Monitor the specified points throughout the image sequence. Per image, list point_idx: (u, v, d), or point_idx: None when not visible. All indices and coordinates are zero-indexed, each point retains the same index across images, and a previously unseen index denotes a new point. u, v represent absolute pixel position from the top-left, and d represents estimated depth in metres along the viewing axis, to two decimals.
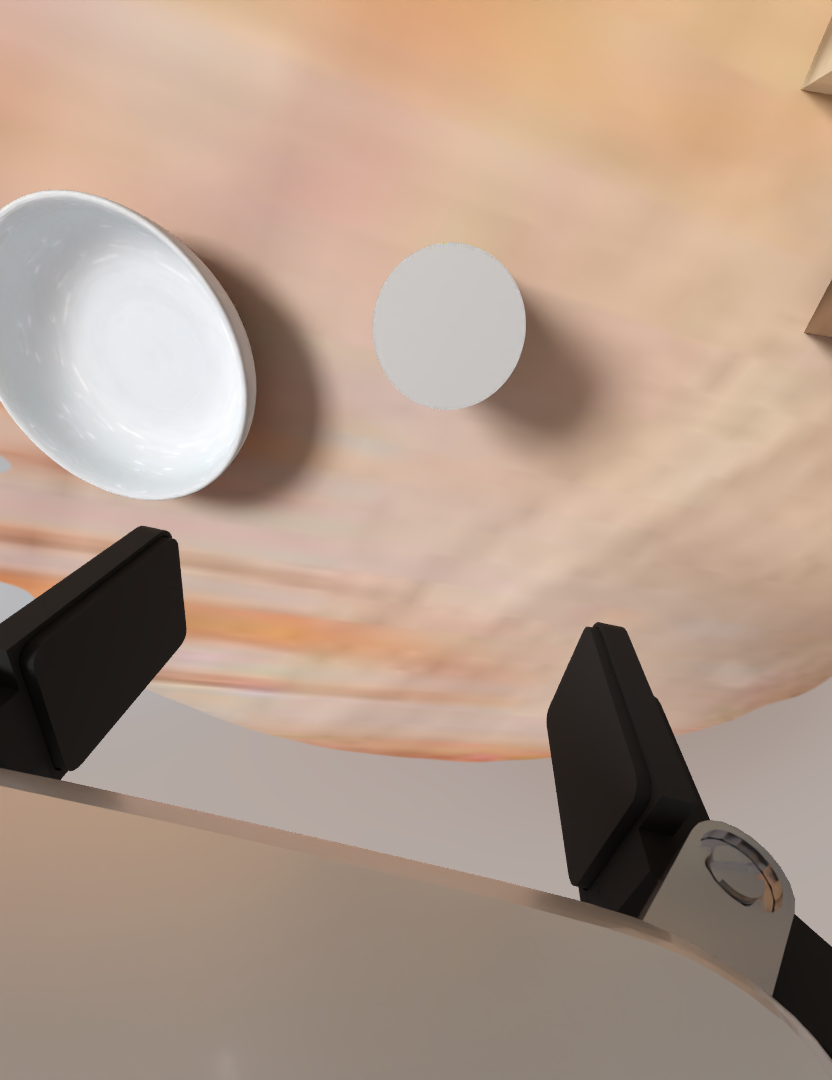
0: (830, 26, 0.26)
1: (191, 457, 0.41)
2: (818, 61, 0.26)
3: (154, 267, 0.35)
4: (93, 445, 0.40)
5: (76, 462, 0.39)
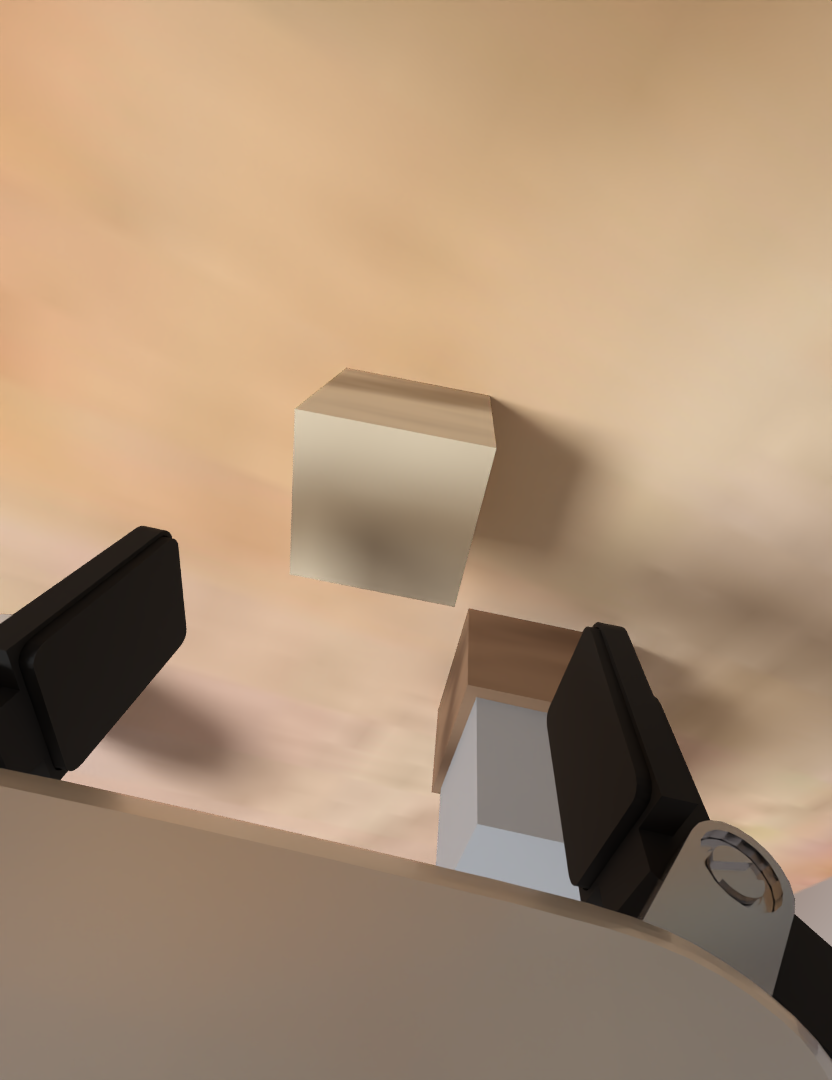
0: None
1: None
2: None
3: None
4: None
5: None
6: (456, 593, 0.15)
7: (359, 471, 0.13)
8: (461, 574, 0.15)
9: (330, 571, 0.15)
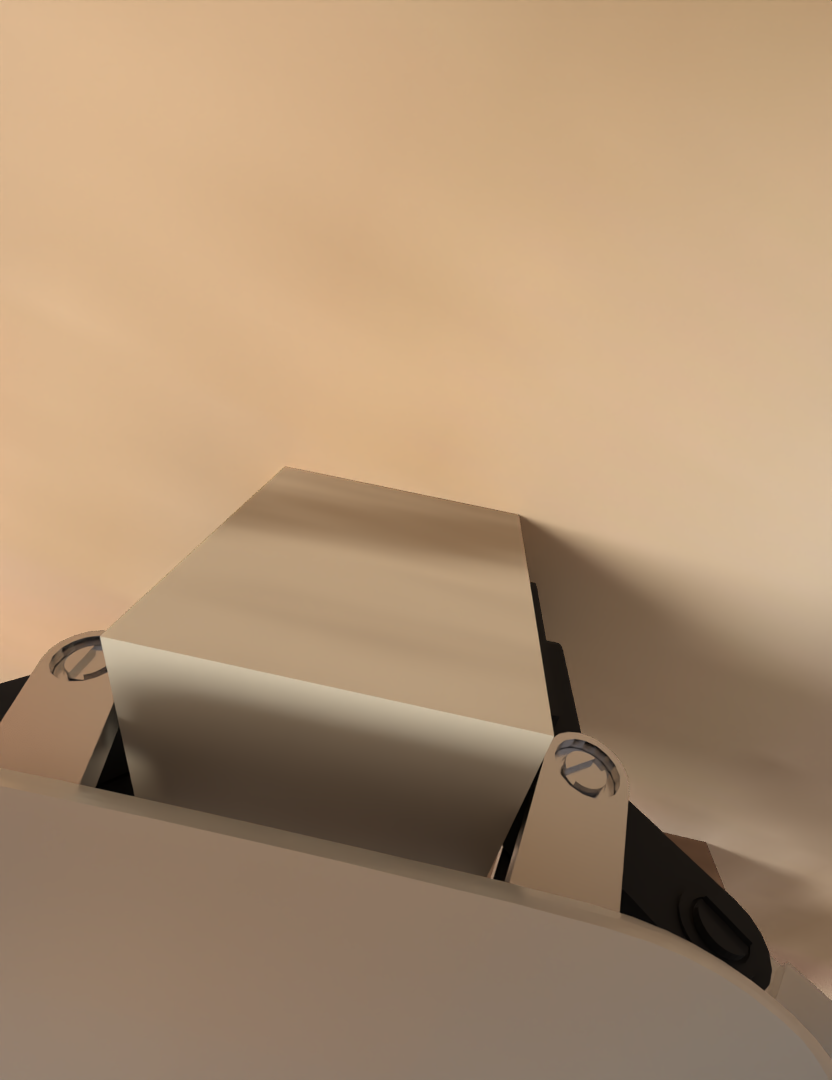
0: None
1: None
2: None
3: None
4: None
5: None
6: None
7: (254, 747, 0.06)
8: None
9: None
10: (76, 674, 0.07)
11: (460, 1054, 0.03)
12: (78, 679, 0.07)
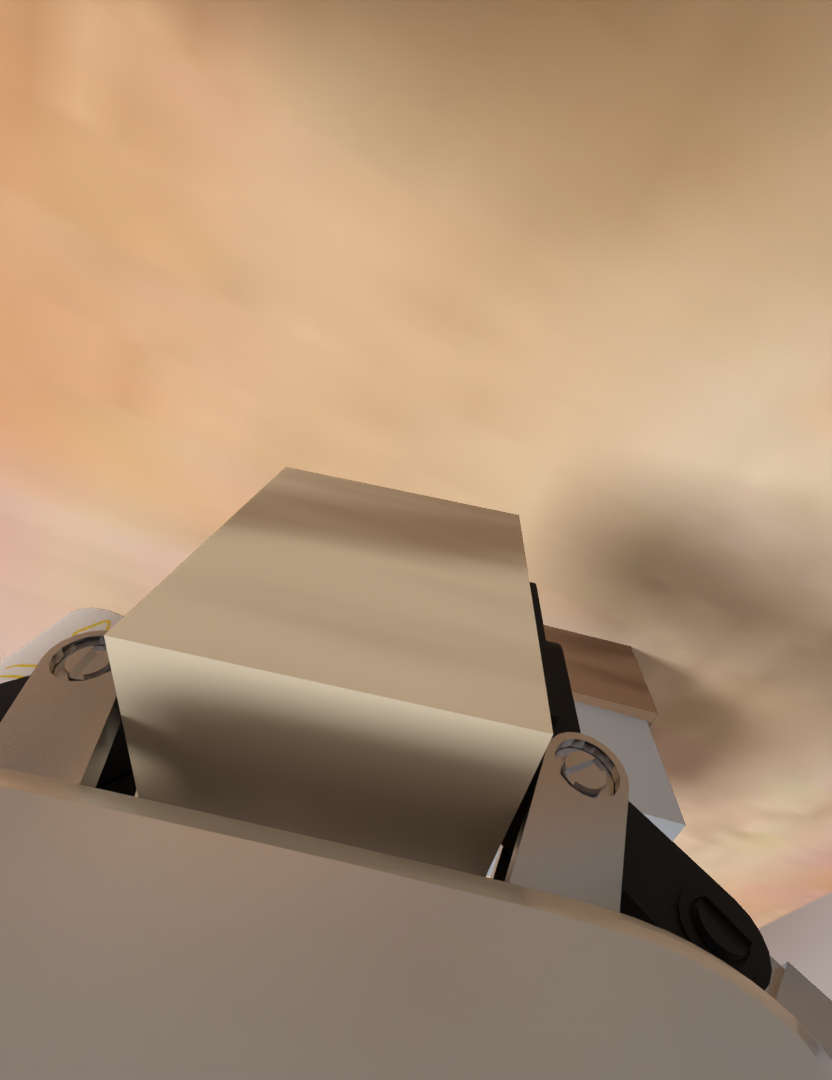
0: None
1: None
2: None
3: None
4: None
5: None
6: None
7: (256, 746, 0.06)
8: None
9: None
10: (76, 674, 0.07)
11: (460, 1054, 0.03)
12: (78, 679, 0.07)
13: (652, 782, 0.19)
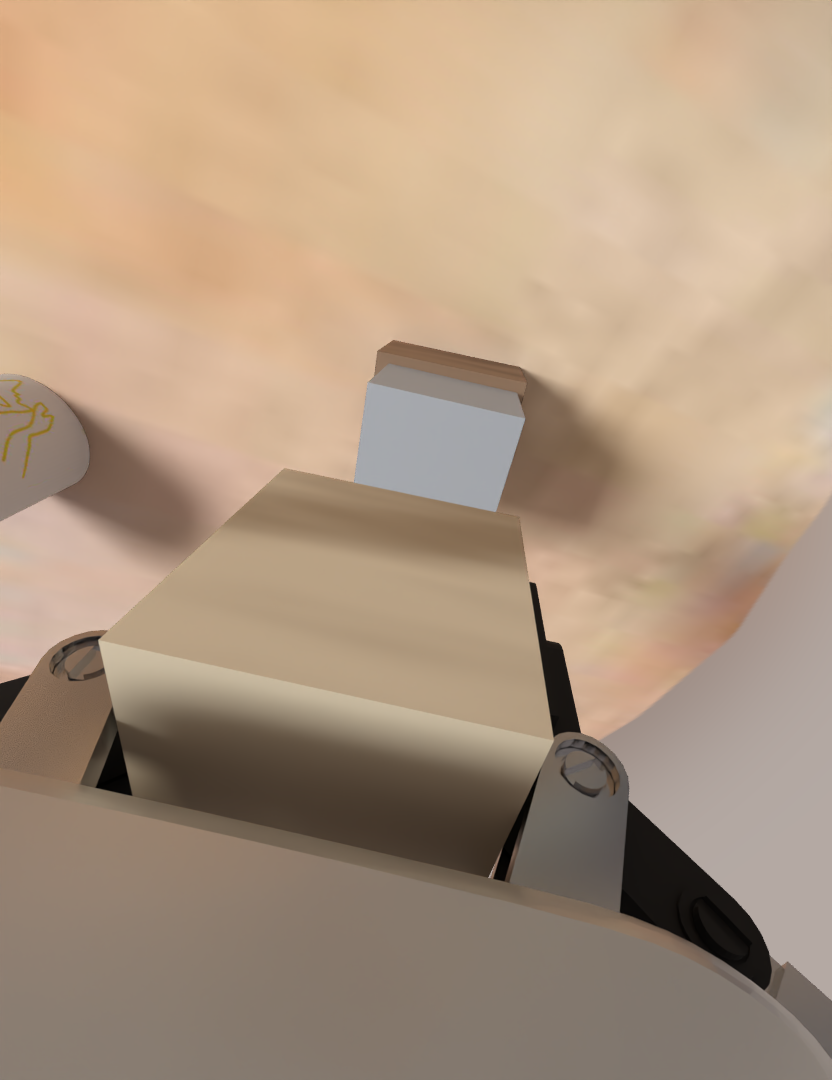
0: None
1: None
2: None
3: None
4: None
5: None
6: None
7: (253, 751, 0.06)
8: None
9: None
10: (76, 674, 0.07)
11: (460, 1054, 0.03)
12: (78, 679, 0.07)
13: (504, 405, 0.20)
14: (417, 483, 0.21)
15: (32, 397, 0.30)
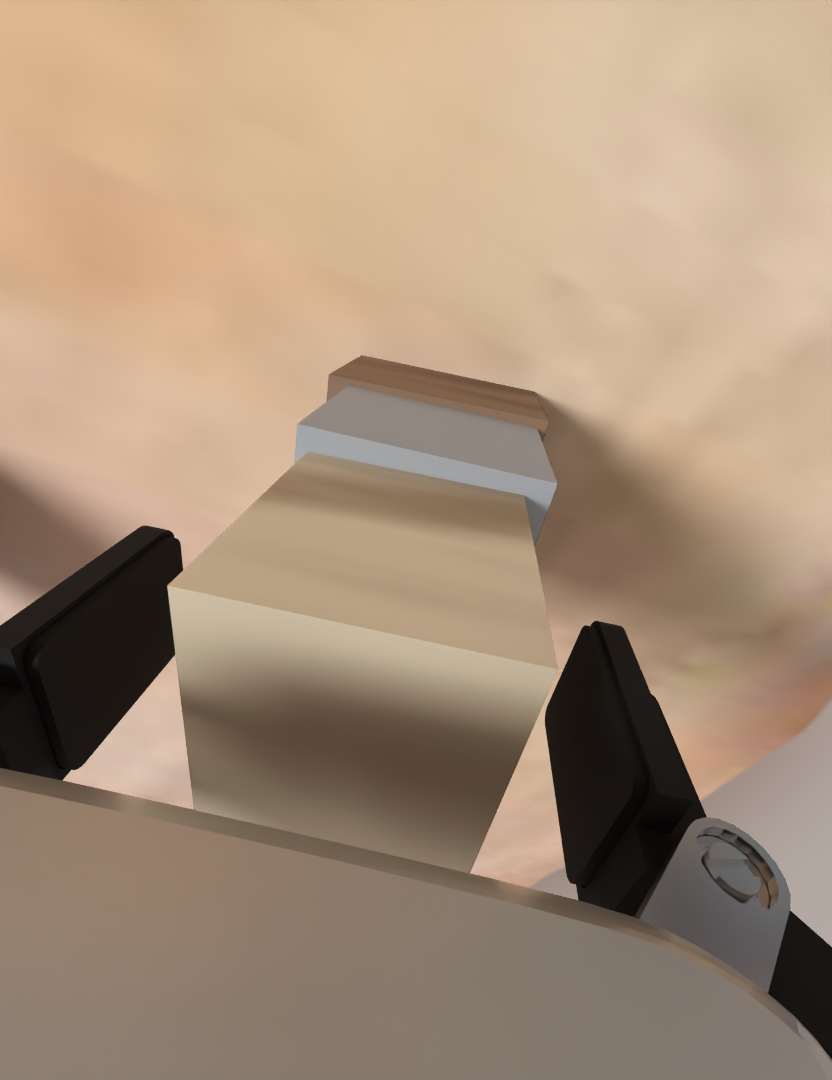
0: None
1: None
2: None
3: None
4: None
5: None
6: (473, 859, 0.09)
7: (296, 686, 0.07)
8: (482, 837, 0.08)
9: (259, 814, 0.09)
10: None
11: (460, 1054, 0.03)
12: None
13: (521, 456, 0.13)
14: None
15: None
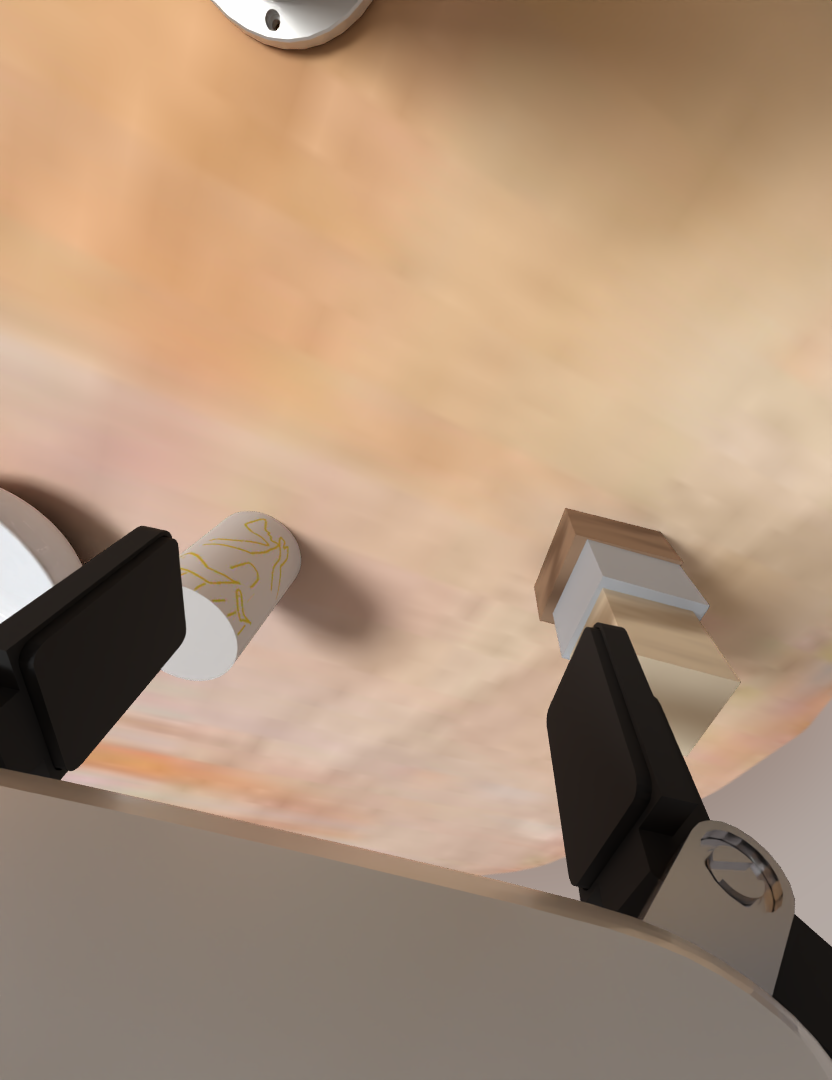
0: None
1: None
2: None
3: None
4: None
5: None
6: (690, 749, 0.25)
7: (654, 684, 0.23)
8: (697, 740, 0.24)
9: None
10: None
11: (460, 1054, 0.03)
12: None
13: (687, 588, 0.29)
14: None
15: (276, 533, 0.39)
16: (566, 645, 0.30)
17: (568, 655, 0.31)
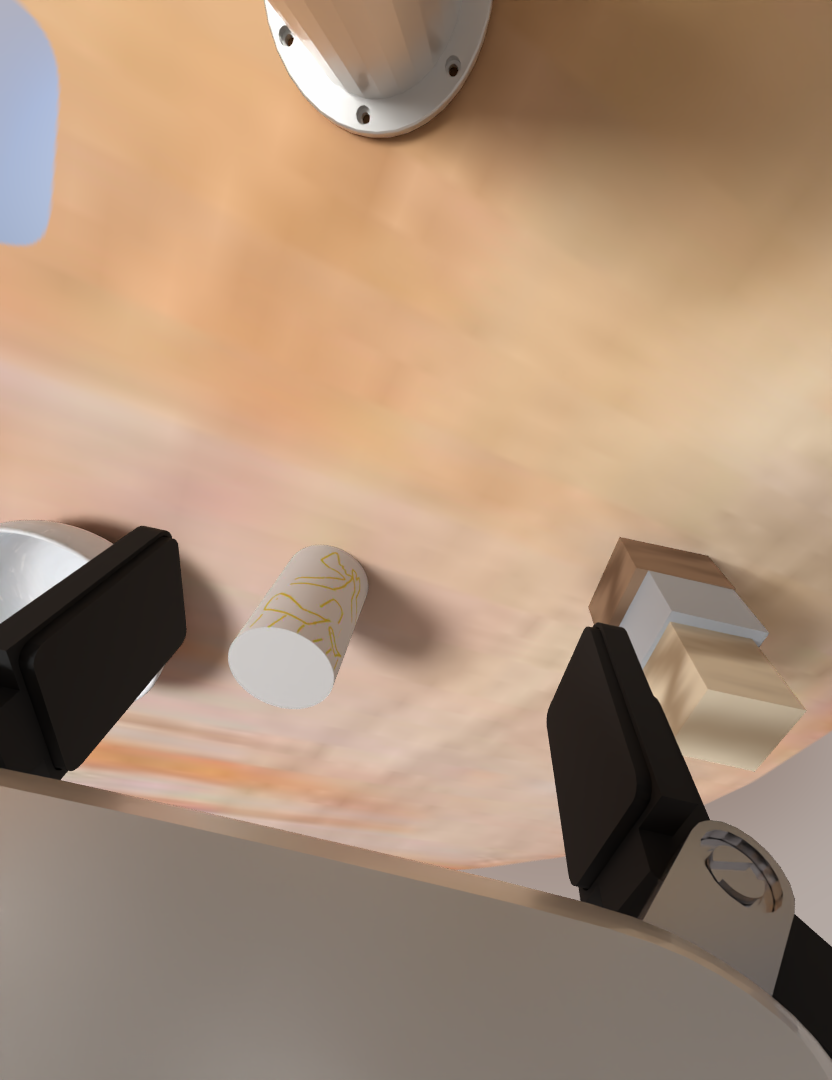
0: (653, 658, 0.32)
1: None
2: None
3: None
4: None
5: None
6: (758, 765, 0.28)
7: (729, 713, 0.27)
8: (765, 758, 0.28)
9: (690, 752, 0.28)
10: None
11: (460, 1054, 0.03)
12: None
13: (746, 616, 0.32)
14: None
15: (348, 566, 0.42)
16: None
17: None
